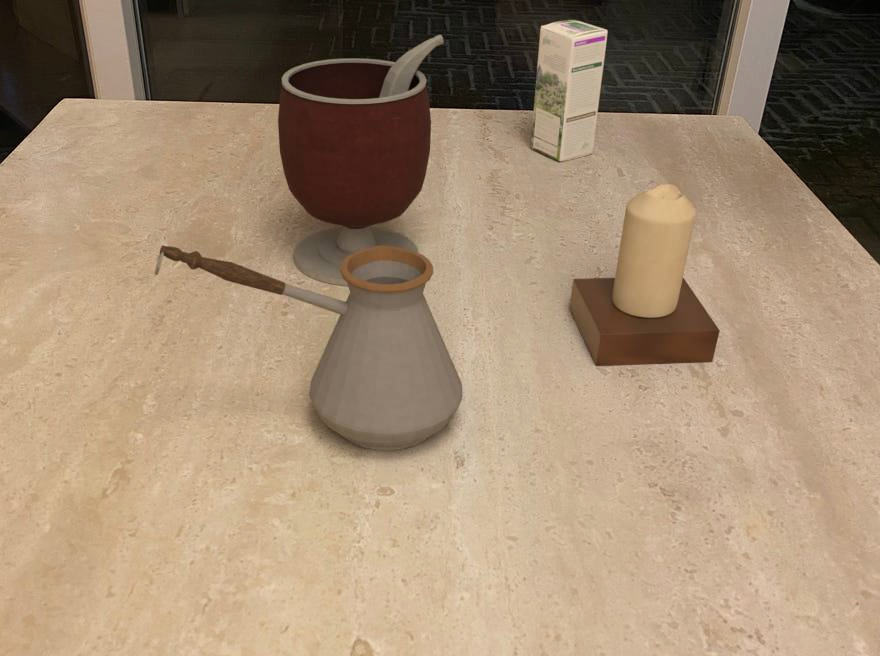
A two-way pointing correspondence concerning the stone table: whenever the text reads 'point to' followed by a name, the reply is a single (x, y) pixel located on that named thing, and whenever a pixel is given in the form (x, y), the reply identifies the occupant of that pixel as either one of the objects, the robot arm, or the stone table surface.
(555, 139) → the syrup box
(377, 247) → the coffee pot
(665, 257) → the candle
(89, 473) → the stone table surface
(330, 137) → the mate gourd
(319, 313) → the stone table surface
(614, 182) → the stone table surface
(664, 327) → the walnut block
